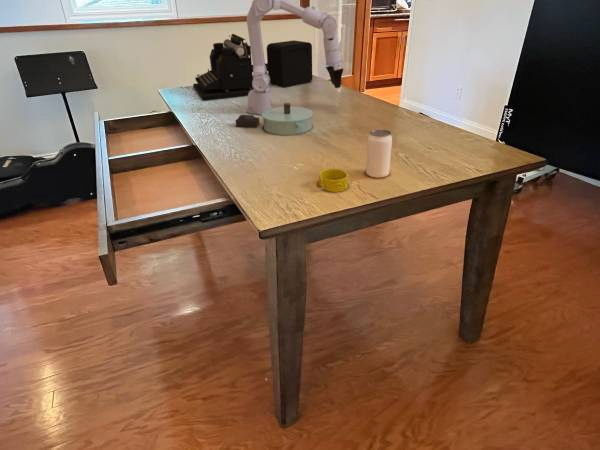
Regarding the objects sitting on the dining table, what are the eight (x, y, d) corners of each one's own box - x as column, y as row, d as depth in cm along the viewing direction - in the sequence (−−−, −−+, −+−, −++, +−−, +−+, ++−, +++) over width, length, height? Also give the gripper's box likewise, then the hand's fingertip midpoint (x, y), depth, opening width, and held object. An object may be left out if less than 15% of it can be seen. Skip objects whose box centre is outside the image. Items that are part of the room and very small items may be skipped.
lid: (274, 127, 143) (273, 113, 141) (254, 113, 158) (253, 101, 155) (322, 118, 150) (322, 105, 148) (298, 106, 165) (298, 94, 162)
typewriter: (193, 87, 219) (185, 36, 206) (243, 82, 227) (238, 32, 214) (203, 100, 194) (194, 43, 181) (258, 94, 202) (254, 39, 189)
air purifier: (296, 78, 234) (295, 39, 223) (312, 81, 224) (312, 41, 214) (266, 83, 223) (264, 43, 213) (282, 87, 213) (280, 46, 203)
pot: (278, 140, 144) (278, 126, 141) (254, 123, 162) (253, 110, 159) (323, 131, 150) (323, 118, 148) (295, 116, 168) (295, 104, 166)
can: (386, 168, 120) (389, 128, 114) (391, 178, 114) (395, 136, 108) (364, 169, 120) (366, 129, 113) (368, 178, 114) (370, 137, 108)
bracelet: (335, 177, 116) (335, 166, 114) (353, 187, 110) (354, 175, 108) (314, 183, 112) (313, 172, 111) (331, 194, 107) (331, 182, 105)
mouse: (236, 126, 158) (235, 115, 156) (240, 123, 162) (239, 112, 160) (255, 127, 157) (254, 116, 154) (259, 124, 161) (258, 113, 158)
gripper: (345, 50, 154) (349, 87, 161) (339, 46, 167) (343, 80, 174) (326, 54, 155) (331, 90, 161) (322, 49, 167) (326, 83, 174)
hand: (336, 85), depth 168 cm, fingers open, 7 cm apart
